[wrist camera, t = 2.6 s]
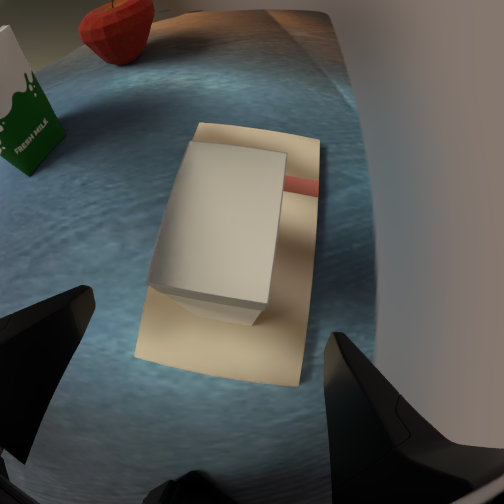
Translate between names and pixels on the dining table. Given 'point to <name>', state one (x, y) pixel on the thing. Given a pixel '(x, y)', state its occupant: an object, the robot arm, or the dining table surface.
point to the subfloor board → (282, 288)
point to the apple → (118, 30)
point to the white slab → (221, 231)
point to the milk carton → (23, 110)
